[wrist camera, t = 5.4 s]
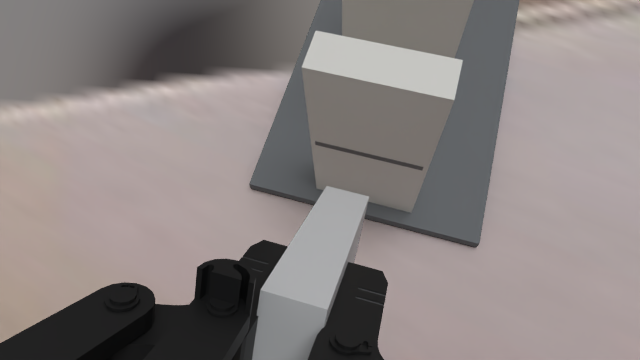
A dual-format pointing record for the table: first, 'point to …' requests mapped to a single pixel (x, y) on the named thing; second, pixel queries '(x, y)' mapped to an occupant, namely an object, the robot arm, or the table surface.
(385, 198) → the domino
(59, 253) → the table surface
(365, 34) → the domino
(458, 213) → the mat
